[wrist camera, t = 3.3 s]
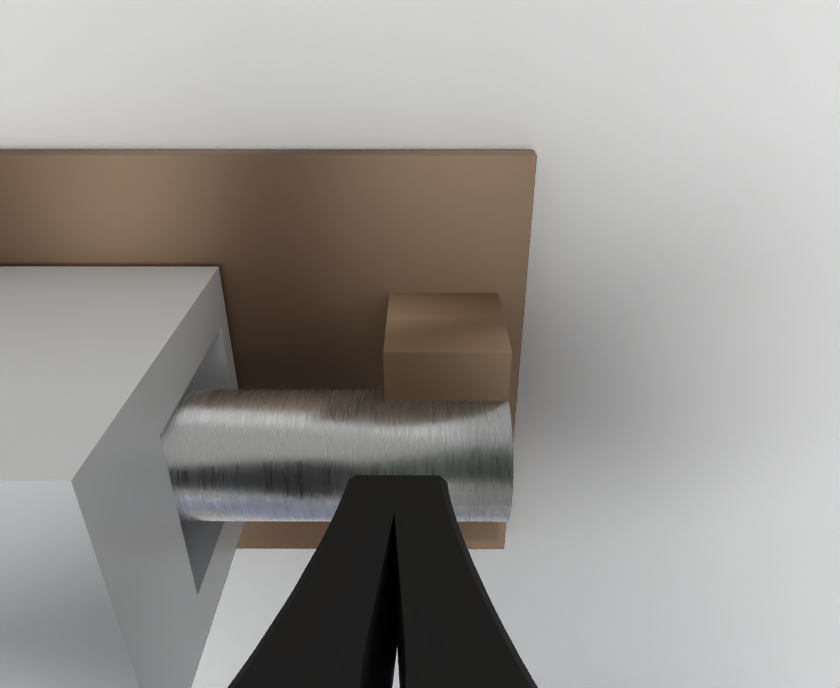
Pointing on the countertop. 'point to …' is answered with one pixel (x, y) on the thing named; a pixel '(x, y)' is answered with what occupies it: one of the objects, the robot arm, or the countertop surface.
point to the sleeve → (104, 475)
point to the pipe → (330, 451)
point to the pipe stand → (310, 263)
